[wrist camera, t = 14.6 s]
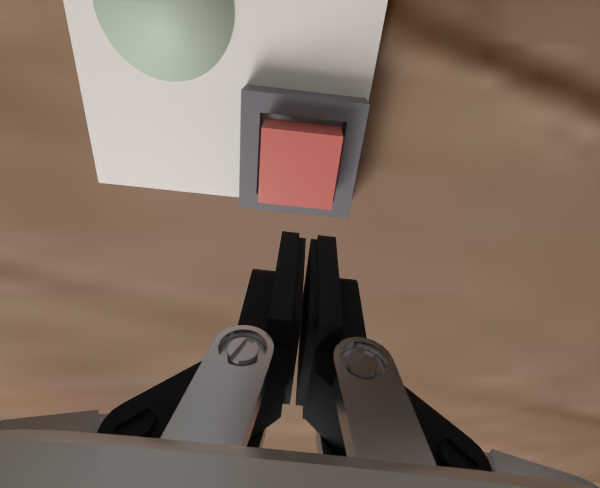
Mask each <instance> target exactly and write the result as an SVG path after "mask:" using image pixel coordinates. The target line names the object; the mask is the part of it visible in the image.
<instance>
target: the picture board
mask: <svg viewBox="0 0 600 488" xmlns="http://www.w3.org/2000/svg"><path fill="white" fill-rule="evenodd" d="M63 2H64V7H65V12H66V17H67V22H68V27H69V32H70V38H71V43H72V48H73V53H74V58H75V63H76V68H77V73H78V79H79V84H80V89H81V94H82V99H83V104H84V109H85V114H86V120H87V125H88V130H89V135H90V140H91V145H92V150H93V155H94V161H95V166H96V171H97V176H98V181H99V183H107V184H117V185H126V186H136V187H146V188H155V189H165V190H174V191H184V192H193V193H203V194H212V195H222V196H231V197H239V207H242V208H252V209H261V210H271V211H280V212H290V213H300V214H309V215H319V216H328V217H338V218H348V216H349V211H350V205H351V200H352V195H353V190H354V185H355V180H356V175H357V169H358V164H359V159H360V154H361V149H362V144H363V139H364V133H365V128H366V123H367V118H368V113H369V108H370V104H369V97H370V91H371V86H372V81H373V76H374V71H375V65H376V60H377V55H378V50H379V44H380V39H381V34H382V29H383V24H384V18H385V13H386V8H387V3H388V0H63ZM266 118H270V119H278V120H287V121H296V122H305V123H314V124H323V125H332V126H341V130H342V133H343V142H342V149H341V155H340V161H339V167H338V173H337V179H336V185H335V191H334V197H333V203H332V209H331V210H324V209H315V208H305V207H296V206H286V205H277V204H267V203H258V189H259V168H260V148H261V127H262V125H263V123H264V121H265V119H266Z"/></svg>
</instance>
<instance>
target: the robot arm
mask: <svg viewBox="0 0 600 488" xmlns="http://www.w3.org/2000/svg"><path fill="white" fill-rule="evenodd" d="M305 243H306V238H299V233H294V232H285V231H282V236H281V242H280V248H279V254H278V260H277V266H276V271H268V270H259V269H253V270H252V273H251V277H250V281H249V285H248V289H247V292H246V296H245V300H244V304H243V308H242V311H241V315H240V319H239V323H238V326H233V327H230V328H227V329H225V330H223V331H222V332H221V333H219V334H218V335H217V336H216V338H215V339H214V340H213V342H212V344H211V346H210V348H209V349H208V351H207V353H206V355H205V357H204V359H203V360H202V361H201V362H199V363H197V364H195V365H193V366H191V367H190V368H188V369H186V370H184V371H182V372H180V373H178V374H177V375H175V376H173V377H171V378H169V379H167V380H165V381H164V382H162V383H160V384H158V385H156V386H154V387H152V388H151V389H149V390H147V391H145V392H143V393H141V394H139V395H138V396H136V397H134V398H132V399H130V400H128V401H126V402H124V403H123V404H121V405H120V406H118V407H117V408H115V409H114V410H112V411H111V412H110V413H109V414H101V415H99V412H98V410H91V411H82V412H73V413H64V414H55V415H45V416H36V417H27V418H18V419H9V420H1V421H0V488H599V487H597V486H596V485H595V484H593V483H591V482H589V481H587V480H585V479H583V478H581V477H578V476H575V475H571V474H568V473H565V472H562V471H559V470H556V469H553V468H549V467H546V466H543V465H540V464H537V463H534V462H531V461H527V460H524V459H521V458H518V457H515V456H512V455H509V454H505V453H502V452H499V451H496V450H493V449H492V450H491V451H490V453H486V452H483V451H482V449H481V448H480V447H479V446H478V445H477V444H476V443H475V442H474V441H473V440H472V439H471V438H469V437H468V436H467V435H466V434H464V433H463V432H462V431H461V430H459V429H458V428H457V427H456V426H454V425H453V424H452V423H450V422H449V421H448V420H447V419H445V418H444V417H443V416H442V415H440V414H439V413H438V412H437V411H435V410H434V409H433V408H432V407H430V406H429V405H428V404H426V403H425V402H424V401H423V400H421V399H420V398H419V397H418V396H416V395H415V394H414V393H413V392H411V391H410V390H409V389H408V388H406V387H405V386H404V385H403V382H402V380H401V377H400V375H399V372H398V370H397V368H396V365H395V363H394V360H393V358H392V357H391V355H390V353H389V352H388V351H387V350H386V349H385V348H384V347H383V346H382V345H380V344H379V343H377V342H375V341H373V340H370V339H367V338H366V332H365V326H364V319H363V313H362V307H361V300H360V294H359V288H358V283H357V281H356V280H351V279H342V278H339V269H338V258H337V247H336V237H330V236H321V235H318V238H317V240H316V239H311V242H310V249H309V256H308V263H307V271H306V278H305V285H304V292H303V281H304V262H305ZM299 335H300V337H299ZM298 342H299V355H298V373H297V391H296V405H301V406H303V419H306V420H307V421H308V422H309V423H310V424H311V425H312V427H313V428H314V429H315V430H316V444H317V450H318V454H316V453H306V452H296V451H285V450H275V449H265V448H262V445H263V441H264V438H265V433H266V428H267V427H268V426H269V425H271V424H272V423H273V422H275V421H276V420H277V419H279V418H280V417H281V411H282V404H290V398H291V391H292V384H293V377H294V370H295V363H296V356H297V349H298Z"/></svg>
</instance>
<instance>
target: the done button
mask: <svg viewBox="0 0 600 488" xmlns="http://www.w3.org/2000/svg"><path fill="white" fill-rule="evenodd" d="M342 142H343V133H342V130H341V126H332V125H323V124H314V123H305V122H296V121H287V120H278V119H270V118H266V119H265V121H264V123H263V125H262V127H261V148H260V168H259V189H258V203H267V204H277V205H286V206H296V207H305V208H315V209H324V210H331V209H332V203H333V197H334V191H335V185H336V179H337V173H338V167H339V161H340V155H341V149H342Z"/></svg>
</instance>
